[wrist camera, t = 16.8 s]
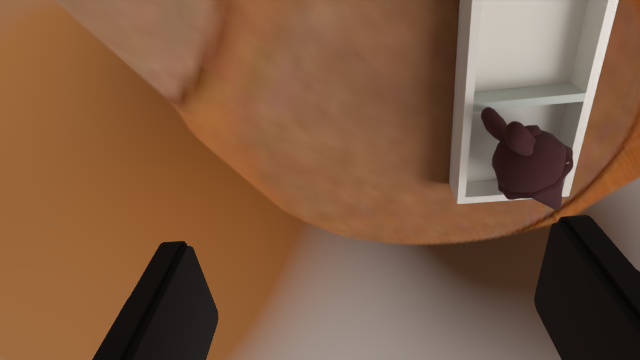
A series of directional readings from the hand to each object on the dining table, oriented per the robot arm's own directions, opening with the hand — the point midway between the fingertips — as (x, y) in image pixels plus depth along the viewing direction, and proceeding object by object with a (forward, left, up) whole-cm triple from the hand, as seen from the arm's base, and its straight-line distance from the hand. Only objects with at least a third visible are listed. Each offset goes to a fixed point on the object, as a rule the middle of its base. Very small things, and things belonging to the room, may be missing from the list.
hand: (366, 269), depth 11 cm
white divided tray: (+8, +16, -32) cm, 37 cm away
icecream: (+13, +16, -30) cm, 36 cm away
